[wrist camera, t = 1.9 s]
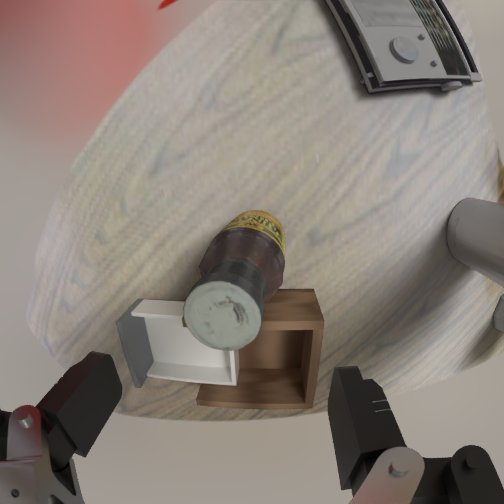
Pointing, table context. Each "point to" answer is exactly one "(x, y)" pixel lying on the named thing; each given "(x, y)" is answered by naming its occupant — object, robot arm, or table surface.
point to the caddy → (276, 358)
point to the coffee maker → (499, 315)
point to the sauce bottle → (237, 282)
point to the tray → (170, 347)
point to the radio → (404, 44)
